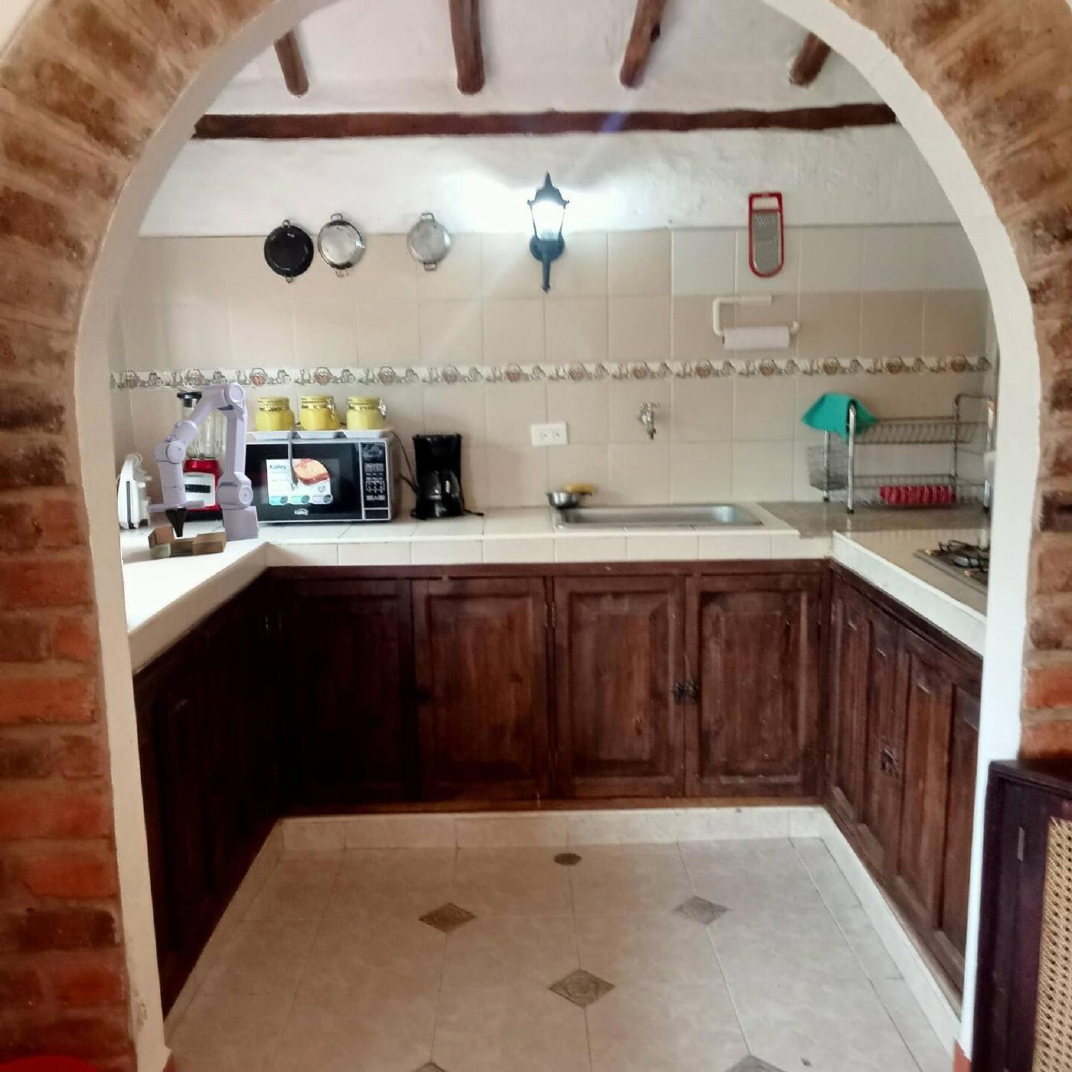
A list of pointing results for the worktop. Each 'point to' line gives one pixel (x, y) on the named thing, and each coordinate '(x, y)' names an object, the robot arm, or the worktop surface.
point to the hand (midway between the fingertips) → (179, 536)
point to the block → (164, 534)
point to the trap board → (187, 545)
